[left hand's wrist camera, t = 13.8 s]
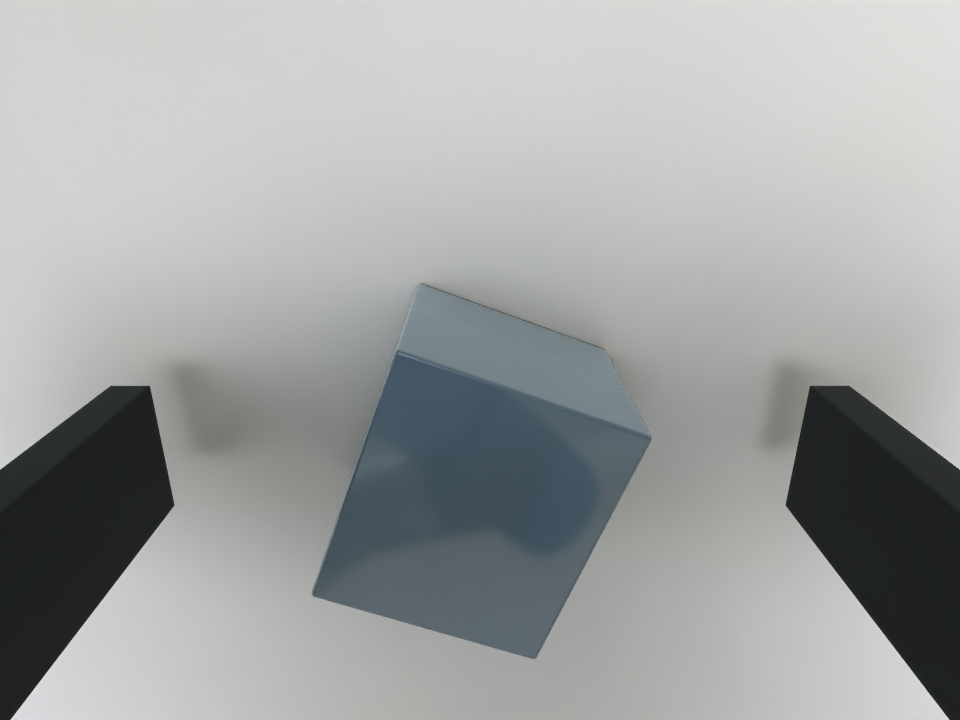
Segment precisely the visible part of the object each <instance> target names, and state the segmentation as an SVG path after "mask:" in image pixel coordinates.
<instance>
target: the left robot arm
mask: <svg viewBox="0 0 960 720" xmlns="http://www.w3.org/2000/svg"><path fill="white" fill-rule="evenodd" d="M173 506H174V501H173V496H172V491H171V486H170V481H169V477H168V472H167V467H166V462H165V457H164V452H163V448H162V443H161V438H160V433H159V428H158V423H157V418H156V414H155V409H154V404H153V399H152V394H151V389H150V386H110V387H109V388H107V389H106V390H105V391H104V392H102V393H101V394H100V395H98V396H97V397H96V398H94V399H93V400H92V401H90V402H89V403H88V404H86V405H85V406H84V407H82V408H81V409H80V410H78V411H77V412H76V413H75V414H73V415H72V416H71V417H69V418H68V419H67V420H65V421H64V422H63V423H61V424H60V425H59V426H57V427H56V428H55V429H53V430H52V431H51V432H50V433H48V434H47V435H46V436H44V437H43V438H42V439H40V440H39V441H38V442H36V443H35V444H34V445H32V446H31V447H30V448H28V449H27V450H26V451H24V452H23V453H22V454H21V455H19V456H18V457H17V458H15V459H14V460H13V461H11V462H10V463H9V464H7V465H6V466H5V467H3V468H2V469H1V470H0V720H11V718H12V717H13V716H14V714H15V713H16V712H17V710H18V709H19V708H20V706H21V705H22V704H23V703H24V701H25V700H26V699H27V697H28V696H29V695H30V693H31V692H32V691H33V689H34V688H35V687H36V686H37V684H38V683H39V682H40V680H41V679H42V678H43V676H44V675H45V674H46V672H47V671H48V670H49V669H50V667H51V666H52V665H53V663H54V662H55V661H56V659H57V658H58V657H59V655H60V654H61V653H62V652H63V650H64V649H65V648H66V646H67V645H68V644H69V642H70V641H71V640H72V638H73V637H74V636H75V635H76V633H77V632H78V631H79V629H80V628H81V627H82V625H83V624H84V623H85V622H86V620H87V619H88V618H89V616H90V615H91V614H92V612H93V611H94V610H95V608H96V607H97V606H98V605H99V603H100V602H101V601H102V599H103V598H104V597H105V595H106V594H107V593H108V591H109V590H110V589H111V588H112V586H113V585H114V584H115V582H116V581H117V580H118V578H119V577H120V576H121V574H122V573H123V572H124V571H125V569H126V568H127V567H128V565H129V564H130V563H131V561H132V560H133V559H134V557H135V556H136V555H137V554H138V552H139V551H140V550H141V548H142V547H143V546H144V544H145V543H146V542H147V540H148V539H149V538H150V537H151V535H152V534H153V533H154V531H155V530H156V529H157V527H158V526H159V525H160V523H161V522H162V521H163V520H164V518H165V517H166V516H167V514H168V513H169V512H170V510H171V509H172V508H173ZM786 506H787V508H788V509H789V510H790V512H791V513H792V514H793V516H794V517H795V518H796V520H797V521H798V522H799V523H800V525H801V526H802V527H803V529H804V530H805V531H806V533H807V534H808V535H809V537H810V538H811V539H812V540H813V542H814V543H815V544H816V546H817V547H818V548H819V550H820V551H821V552H822V554H823V555H824V556H825V557H826V559H827V560H828V561H829V563H830V564H831V565H832V567H833V568H834V569H835V571H836V572H837V573H838V574H839V576H840V577H841V578H842V580H843V581H844V582H845V584H846V585H847V586H848V588H849V589H850V590H851V591H852V593H853V594H854V595H855V597H856V598H857V599H858V601H859V602H860V603H861V605H862V606H863V607H864V608H865V610H866V611H867V612H868V614H869V615H870V616H871V618H872V619H873V620H874V622H875V623H876V624H877V625H878V627H879V628H880V629H881V631H882V632H883V633H884V635H885V636H886V637H887V639H888V640H889V641H890V642H891V644H892V645H893V646H894V648H895V649H896V650H897V652H898V653H899V654H900V656H901V657H902V658H903V659H904V661H905V662H906V663H907V665H908V666H909V667H910V669H911V670H912V671H913V673H914V674H915V675H916V676H917V678H918V679H919V680H920V682H921V683H922V684H923V686H924V687H925V688H926V690H927V691H928V692H929V693H930V695H931V696H932V697H933V699H934V700H935V701H936V703H937V704H938V705H939V707H940V708H941V709H942V710H943V712H944V713H945V714H946V716H947V717H948V718H949V720H960V470H959V469H958V468H957V467H955V466H954V465H953V464H951V463H950V462H949V461H947V460H946V459H945V458H943V457H942V456H941V455H939V454H938V453H937V452H935V451H934V450H933V449H932V448H930V447H929V446H928V445H926V444H925V443H924V442H922V441H921V440H920V439H918V438H917V437H916V436H914V435H913V434H912V433H910V432H909V431H908V430H907V429H905V428H904V427H903V426H901V425H900V424H899V423H897V422H896V421H895V420H893V419H892V418H891V417H889V416H888V415H887V414H885V413H884V412H883V411H881V410H880V409H879V408H878V407H876V406H875V405H874V404H872V403H871V402H870V401H868V400H867V399H866V398H864V397H863V396H862V395H860V394H859V393H858V392H856V391H855V390H854V389H852V388H851V387H850V386H810V389H809V394H808V399H807V404H806V409H805V413H804V418H803V423H802V428H801V433H800V438H799V442H798V447H797V452H796V457H795V462H794V467H793V472H792V476H791V481H790V486H789V491H788V496H787V501H786Z"/></svg>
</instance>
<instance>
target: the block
mask: <svg viewBox="0 0 960 720" xmlns="http://www.w3.org/2000/svg"><path fill="white" fill-rule="evenodd" d="M651 439H652V436H651V434H650V433H649V431H648V429H647V427H646V425H645V423H644V421H643V420H642V418H641V416H640V414H639V412H638V410H637V408H636V406H635V405H634V403H633V401H632V399H631V397H630V395H629V393H628V392H627V390H626V388H625V386H624V384H623V382H622V380H621V378H620V377H619V375H618V373H617V371H616V369H615V367H614V365H613V363H612V362H611V360H610V358H609V356H608V354H607V352H606V351H605V350H604V349H602V348H599V347H596V346H593V345H591V344H588V343H585V342H582V341H579V340H577V339H574V338H571V337H568V336H565V335H563V334H560V333H557V332H554V331H551V330H549V329H546V328H543V327H540V326H537V325H535V324H532V323H529V322H526V321H523V320H521V319H518V318H515V317H512V316H510V315H507V314H504V313H501V312H498V311H496V310H493V309H490V308H487V307H484V306H482V305H479V304H476V303H473V302H470V301H468V300H465V299H462V298H459V297H456V296H454V295H451V294H448V293H445V292H442V291H440V290H437V289H434V288H431V287H428V286H426V285H423V284H419V285H418V286H417V288H416V291H415V294H414V297H413V300H412V303H411V306H410V309H409V312H408V314H407V317H406V320H405V323H404V326H403V329H402V332H401V335H400V338H399V340H398V343H397V346H396V349H395V352H394V355H393V358H392V361H391V363H390V366H389V369H388V372H387V375H386V378H385V381H384V384H383V387H382V389H381V392H380V395H379V398H378V401H377V404H376V407H375V410H374V413H373V415H372V418H371V421H370V424H369V427H368V430H367V433H366V436H365V438H364V441H363V444H362V447H361V450H360V453H359V456H358V459H357V462H356V464H355V467H354V470H353V473H352V476H351V479H350V482H349V485H348V488H347V491H346V494H345V496H344V499H343V502H342V505H341V508H340V511H339V514H338V517H337V520H336V523H335V526H334V529H333V531H332V534H331V537H330V540H329V543H328V546H327V549H326V552H325V555H324V558H323V561H322V564H321V566H320V569H319V572H318V575H317V578H316V581H315V584H314V587H313V590H312V596H314V597H317V598H320V599H324V600H327V601H331V602H334V603H338V604H341V605H345V606H348V607H352V608H355V609H359V610H362V611H366V612H369V613H373V614H376V615H380V616H383V617H387V618H391V619H394V620H398V621H401V622H405V623H408V624H412V625H415V626H419V627H422V628H426V629H429V630H433V631H436V632H440V633H443V634H447V635H450V636H454V637H457V638H461V639H464V640H468V641H471V642H475V643H478V644H482V645H485V646H489V647H492V648H496V649H499V650H503V651H506V652H510V653H514V654H517V655H521V656H524V657H528V658H531V659H536V657H537V656H538V654H539V652H540V650H541V648H542V646H543V644H544V642H545V640H546V638H547V637H548V635H549V633H550V631H551V629H552V627H553V625H554V623H555V621H556V620H557V618H558V616H559V614H560V612H561V610H562V608H563V606H564V604H565V602H566V601H567V599H568V597H569V595H570V593H571V591H572V589H573V587H574V585H575V584H576V582H577V580H578V578H579V576H580V574H581V572H582V570H583V568H584V566H585V565H586V563H587V561H588V559H589V557H590V555H591V553H592V551H593V549H594V548H595V546H596V544H597V542H598V540H599V538H600V536H601V534H602V532H603V531H604V529H605V527H606V525H607V523H608V521H609V519H610V517H611V515H612V513H613V512H614V510H615V508H616V506H617V504H618V502H619V500H620V498H621V496H622V495H623V493H624V491H625V489H626V487H627V485H628V483H629V481H630V479H631V477H632V476H633V474H634V472H635V470H636V468H637V466H638V464H639V462H640V460H641V459H642V457H643V455H644V453H645V451H646V449H647V447H648V445H649V443H650V441H651Z"/></svg>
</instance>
